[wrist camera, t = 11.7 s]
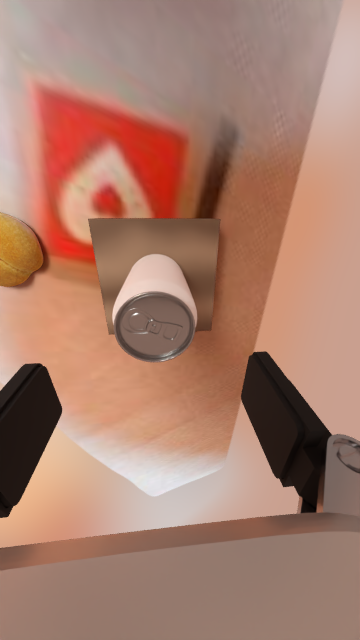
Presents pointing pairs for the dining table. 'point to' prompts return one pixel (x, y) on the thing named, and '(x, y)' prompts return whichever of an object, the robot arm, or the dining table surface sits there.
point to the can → (154, 311)
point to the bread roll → (17, 251)
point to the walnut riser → (157, 238)
